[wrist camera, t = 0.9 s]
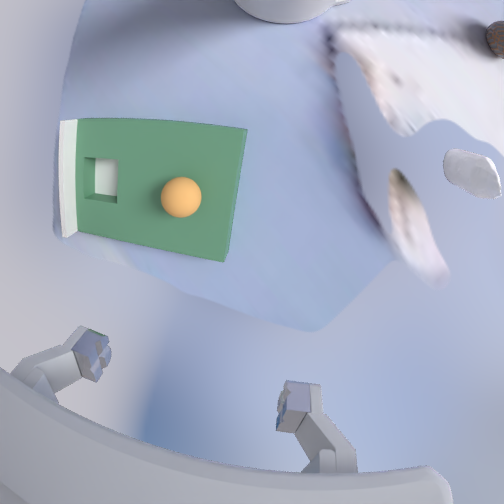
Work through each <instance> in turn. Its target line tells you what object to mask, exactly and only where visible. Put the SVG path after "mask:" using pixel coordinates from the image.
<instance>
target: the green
mask: <svg viewBox="0 0 504 504" xmlns="http://www.w3.org/2000/svg"><path fill="white" fill-rule="evenodd" d="M247 130H248V129H242V128H235V127H228V126H220V125H212V124H204V123H194V122H184V121H172V120H157V119H135V118H83V119H73V120H63V121H60V133H59V200H60V215H61V227H62V236H63V237H65V238H68V237H69V236H71V235H72V234H74V233H75V232H77V231H80V232H85V233H89V234H94V235H98V236H102V237H107V238H111V239H116V240H120V241H125V242H129V243H134V244H139V245H143V246H148V247H152V248H157V249H162V250H166V251H171V252H176V253H180V254H185V255H190V256H195V257H199V258H204V259H209V260H214V261H219V262H224V260H225V258H226V256H227V254H228V250H229V243H230V236H231V230H232V223H233V216H234V210H235V204H236V197H237V191H238V184H239V178H240V172H241V166H242V160H243V154H244V148H245V142H246V136H247ZM176 177H187V178H190V179H192V180H193V181H194V182H196V183H197V185H198V186H199V188H200V191H201V196H202V197H201V203H200V206H199V207H198V209H197V210H196V211H195V212H194V213H193V214H192V215H190V216H187V217H183V218H178V217H174V216H172V215H170V214H169V213H167V212H166V211H165V209H164V208H163V206H162V203H161V193H162V190H163V188H164V186H165V185H166V183H167V182H169V181H170V180H172V179H174V178H176Z"/></svg>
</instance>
